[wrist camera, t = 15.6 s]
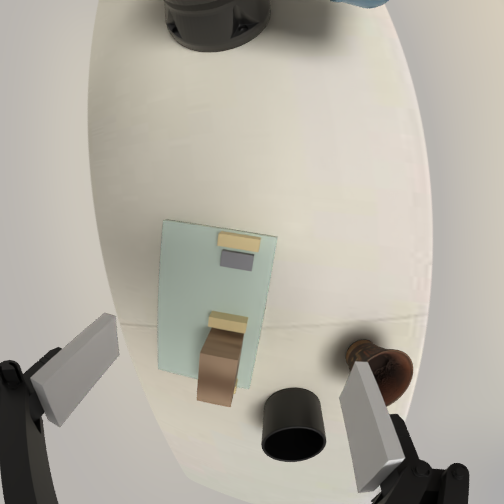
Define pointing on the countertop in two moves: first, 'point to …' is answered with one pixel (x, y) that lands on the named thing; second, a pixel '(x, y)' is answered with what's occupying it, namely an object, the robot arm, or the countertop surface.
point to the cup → (383, 368)
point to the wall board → (210, 293)
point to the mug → (293, 426)
